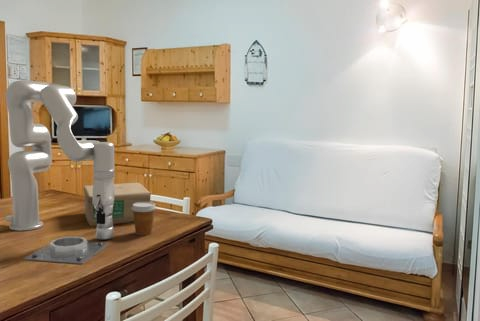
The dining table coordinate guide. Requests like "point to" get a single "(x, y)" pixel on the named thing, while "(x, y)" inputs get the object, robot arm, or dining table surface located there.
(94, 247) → the duct flange
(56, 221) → the dining table surface
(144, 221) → the disposable coffee cup
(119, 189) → the paper package
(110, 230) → the plastic bottle
